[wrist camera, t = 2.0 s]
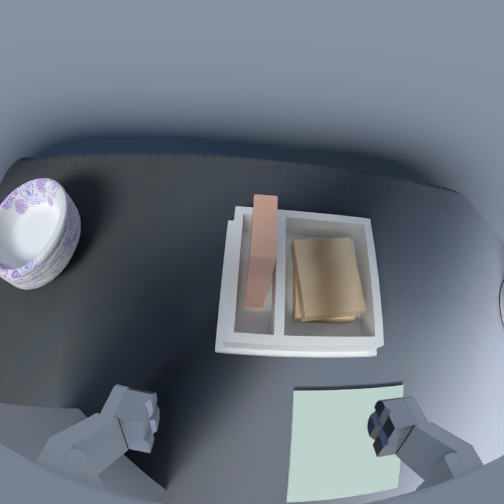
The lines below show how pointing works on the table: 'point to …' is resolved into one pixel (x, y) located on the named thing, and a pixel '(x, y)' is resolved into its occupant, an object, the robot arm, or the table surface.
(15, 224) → the paper bowls
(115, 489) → the brochure
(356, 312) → the offcut upper
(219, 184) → the table surface
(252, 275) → the terracotta board
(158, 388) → the table surface
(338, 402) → the sage mat
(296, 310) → the offcut lower
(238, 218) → the white divided tray
